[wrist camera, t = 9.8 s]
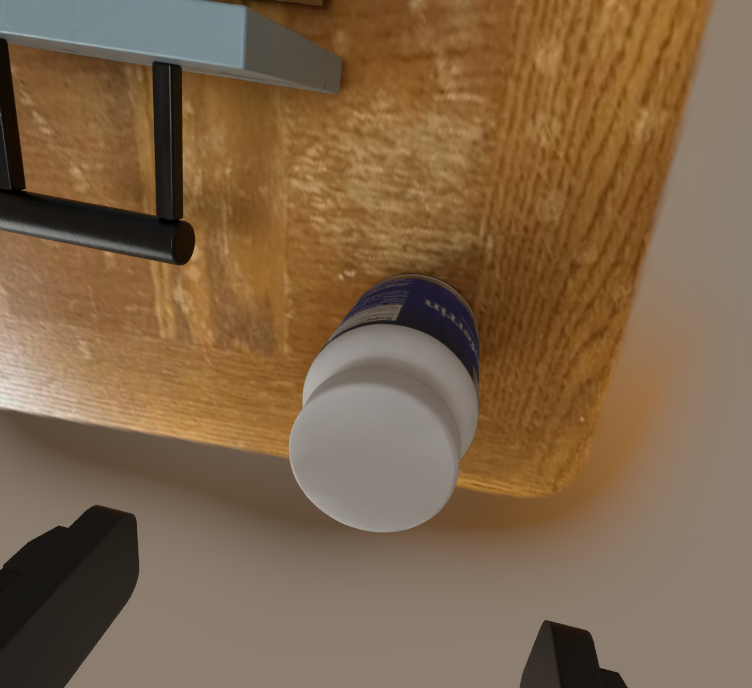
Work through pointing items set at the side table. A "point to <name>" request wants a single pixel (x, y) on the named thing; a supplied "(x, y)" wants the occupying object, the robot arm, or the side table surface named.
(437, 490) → the pill bottle
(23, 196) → the drawer
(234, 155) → the side table surface
